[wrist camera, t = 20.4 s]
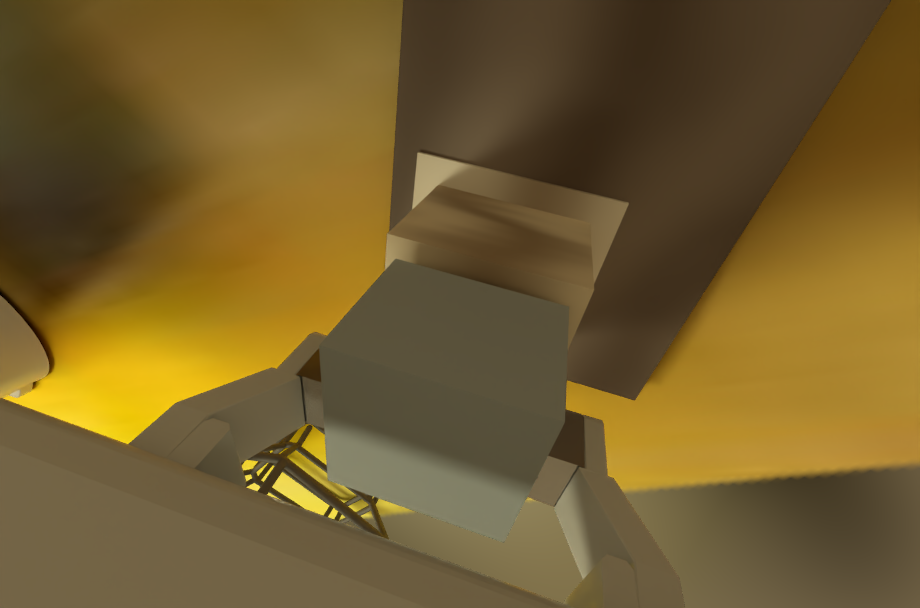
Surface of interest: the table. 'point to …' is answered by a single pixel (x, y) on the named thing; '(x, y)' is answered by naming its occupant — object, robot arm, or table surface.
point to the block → (499, 247)
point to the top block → (444, 395)
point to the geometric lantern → (309, 482)
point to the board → (620, 135)
